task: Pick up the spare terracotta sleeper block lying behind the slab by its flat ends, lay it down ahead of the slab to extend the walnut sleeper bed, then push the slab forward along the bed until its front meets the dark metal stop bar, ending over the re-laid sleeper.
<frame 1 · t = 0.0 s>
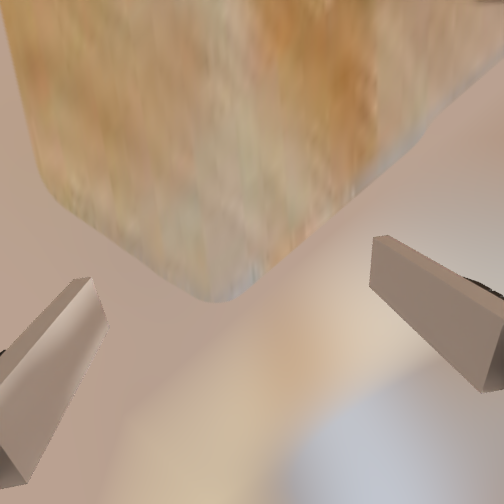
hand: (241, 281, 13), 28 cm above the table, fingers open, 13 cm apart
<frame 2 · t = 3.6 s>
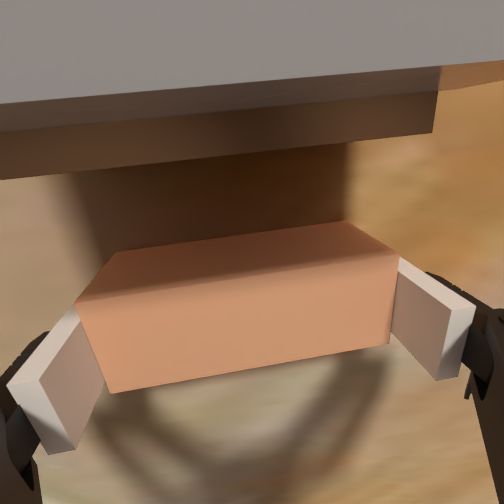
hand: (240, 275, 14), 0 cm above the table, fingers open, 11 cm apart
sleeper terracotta: (239, 271, 14), on the table
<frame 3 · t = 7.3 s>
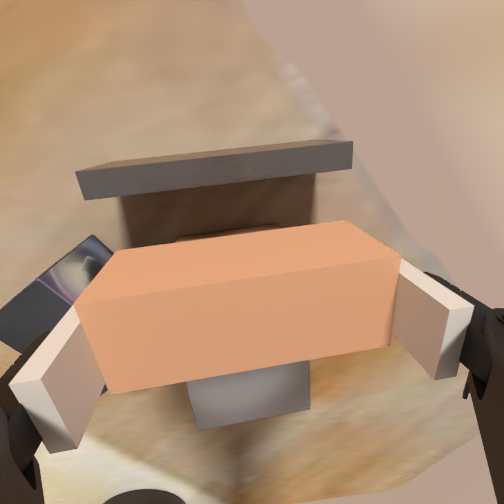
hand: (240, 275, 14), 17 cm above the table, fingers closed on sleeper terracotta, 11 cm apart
small box: (112, 282, 32), on the table
stop bar: (219, 161, 28), on the table
slab: (244, 342, 31), point 5 cm above the table, touching sleeper bed
sleeper bed: (238, 305, 35), on the table
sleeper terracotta: (239, 271, 14), point 17 cm above the table, touching gripper
when the fingers open (1 cm above the table, at t = 10.1 s): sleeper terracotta drops 1 cm, on the table.
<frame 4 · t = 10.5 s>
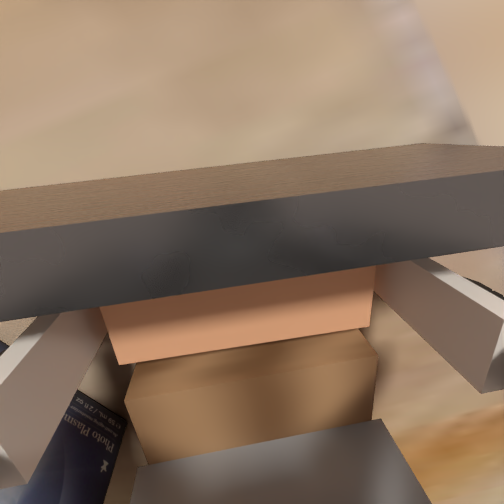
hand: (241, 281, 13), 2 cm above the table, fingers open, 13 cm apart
small box: (33, 401, 17), on the table
stop bar: (228, 186, 14), on the table
sleeper bed: (257, 422, 20), on the table
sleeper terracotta: (236, 261, 16), on the table
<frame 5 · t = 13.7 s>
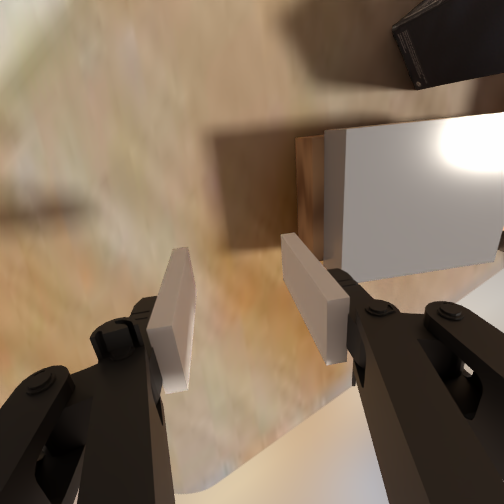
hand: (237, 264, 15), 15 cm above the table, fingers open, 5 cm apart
small box: (451, 24, 25), on the table
slab: (398, 194, 25), point 5 cm above the table, touching sleeper bed
sleeper bed: (383, 183, 30), on the table
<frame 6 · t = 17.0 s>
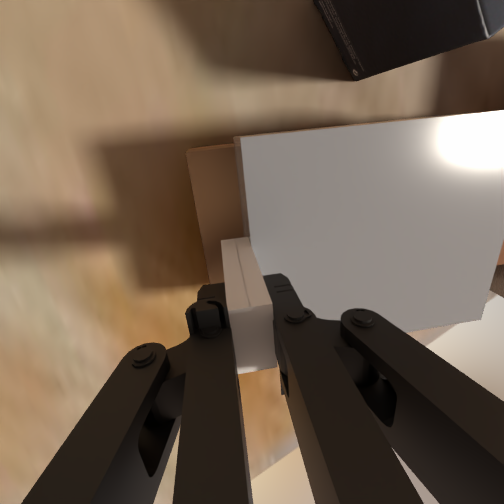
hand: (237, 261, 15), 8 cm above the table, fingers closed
slab: (350, 224, 18), point 5 cm above the table, touching gripper
sleeper bed: (320, 205, 23), on the table
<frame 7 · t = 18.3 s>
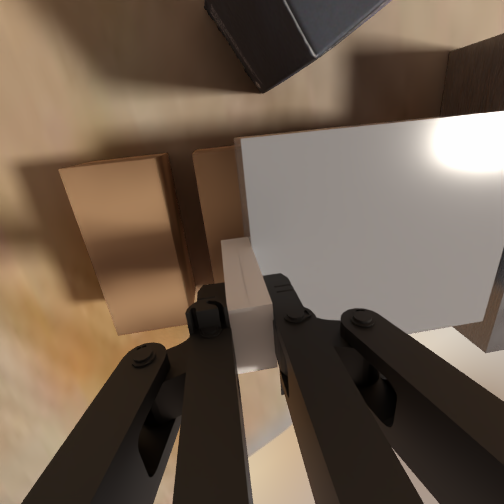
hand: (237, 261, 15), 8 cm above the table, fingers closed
stop bar: (439, 192, 24), on the table
slab: (351, 225, 18), point 5 cm above the table, touching gripper
sleeper bed: (240, 219, 22), on the table
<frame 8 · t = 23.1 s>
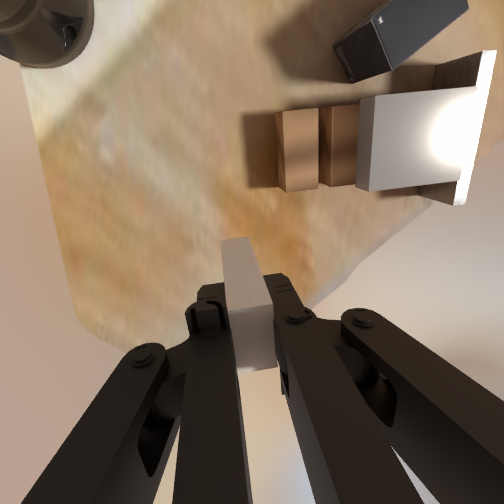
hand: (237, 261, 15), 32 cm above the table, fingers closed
small box: (371, 42, 41), on the table
stop bar: (432, 135, 47), on the table
slab: (402, 140, 42), point 5 cm above the table, touching sleeper bed
sleeper bed: (334, 145, 46), on the table
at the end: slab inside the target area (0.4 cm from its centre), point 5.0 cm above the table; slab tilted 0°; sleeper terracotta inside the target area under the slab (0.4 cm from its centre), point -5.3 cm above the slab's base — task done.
